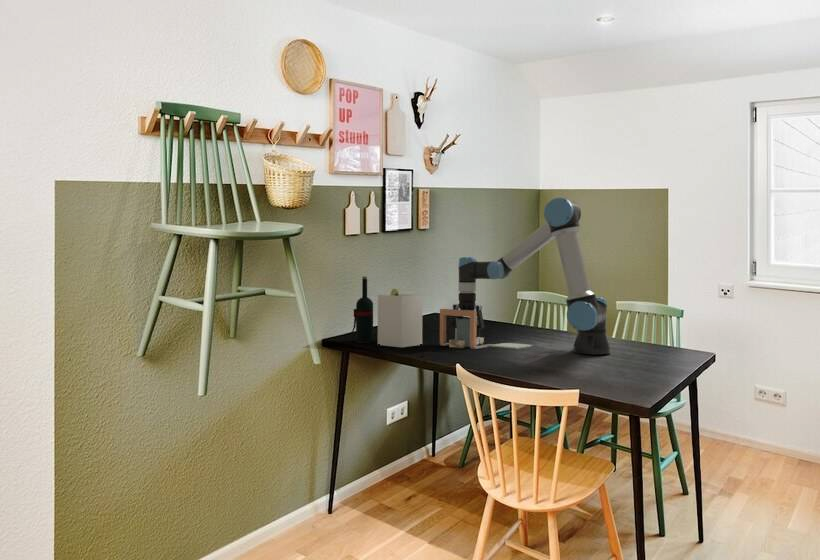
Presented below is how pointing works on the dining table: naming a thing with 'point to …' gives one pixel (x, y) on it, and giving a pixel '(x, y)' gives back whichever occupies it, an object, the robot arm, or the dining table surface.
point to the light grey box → (400, 320)
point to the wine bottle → (364, 316)
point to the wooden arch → (458, 313)
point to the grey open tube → (463, 330)
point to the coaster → (511, 345)
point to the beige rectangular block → (462, 343)
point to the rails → (472, 347)
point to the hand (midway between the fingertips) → (467, 343)
